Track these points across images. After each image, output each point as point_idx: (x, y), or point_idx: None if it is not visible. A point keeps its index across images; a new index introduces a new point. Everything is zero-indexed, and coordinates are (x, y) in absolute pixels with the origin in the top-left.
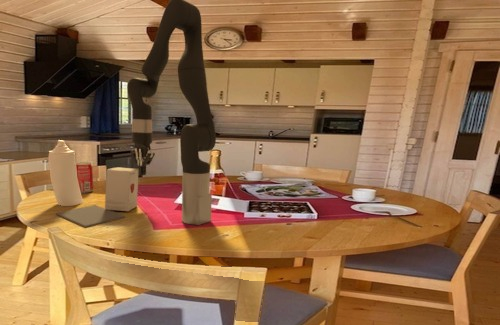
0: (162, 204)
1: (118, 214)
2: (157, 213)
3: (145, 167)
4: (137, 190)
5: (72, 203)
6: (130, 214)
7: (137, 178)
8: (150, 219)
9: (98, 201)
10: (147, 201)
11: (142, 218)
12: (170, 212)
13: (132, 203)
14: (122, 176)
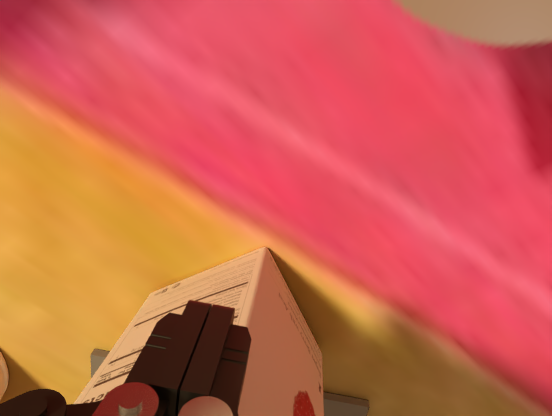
0: (377, 120)
1: (324, 406)
2: (474, 289)
3: (237, 401)
4: (256, 306)
5: (2, 391)
6: (352, 360)
7: (249, 392)
8: (500, 373)
9: (9, 278)
10: (227, 118)
11: (452, 378)
12: (540, 238)
13: (302, 333)
14: None
